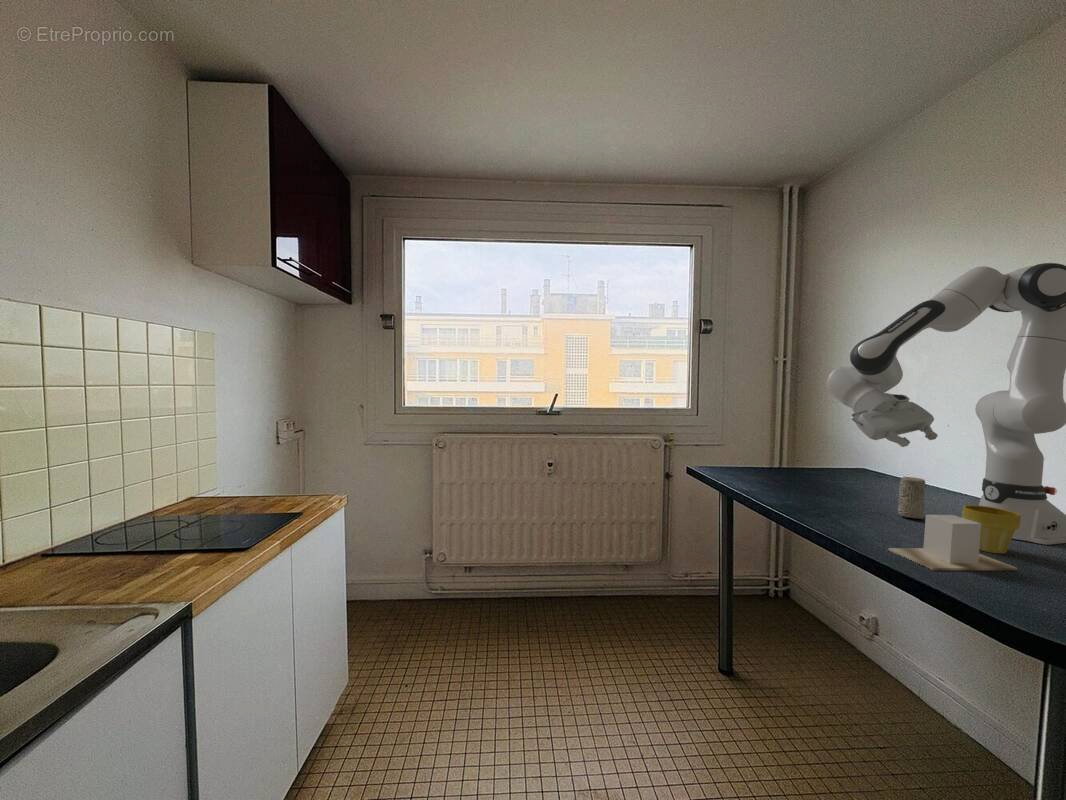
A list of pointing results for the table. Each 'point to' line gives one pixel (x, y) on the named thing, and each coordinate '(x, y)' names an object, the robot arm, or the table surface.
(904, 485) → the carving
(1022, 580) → the table surface
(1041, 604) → the table surface
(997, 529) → the plant pot
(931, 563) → the cork mat
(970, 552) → the plain grey box
